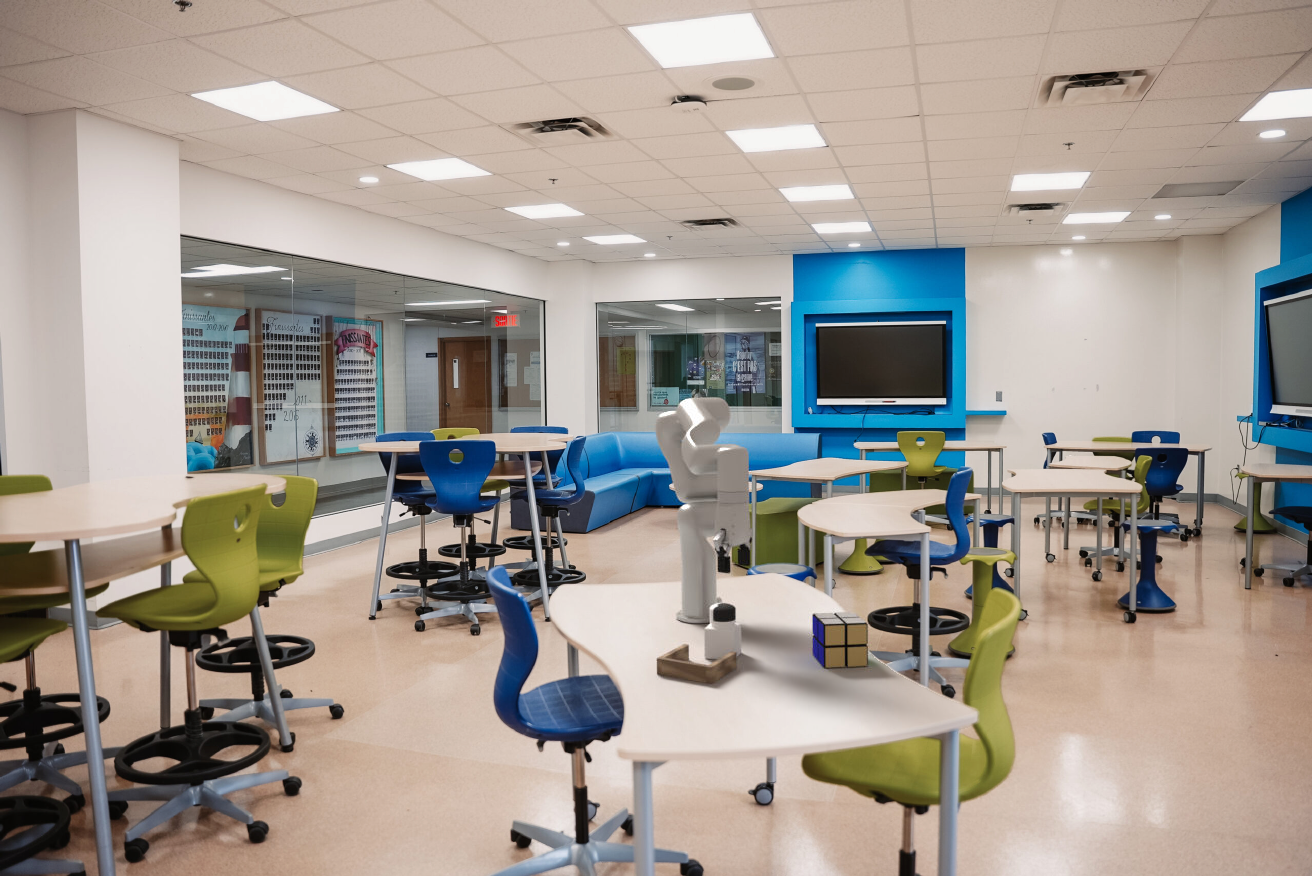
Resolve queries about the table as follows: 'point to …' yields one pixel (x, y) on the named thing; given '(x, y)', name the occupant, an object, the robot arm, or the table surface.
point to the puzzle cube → (840, 640)
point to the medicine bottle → (722, 632)
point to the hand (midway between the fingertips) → (734, 568)
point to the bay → (694, 666)
